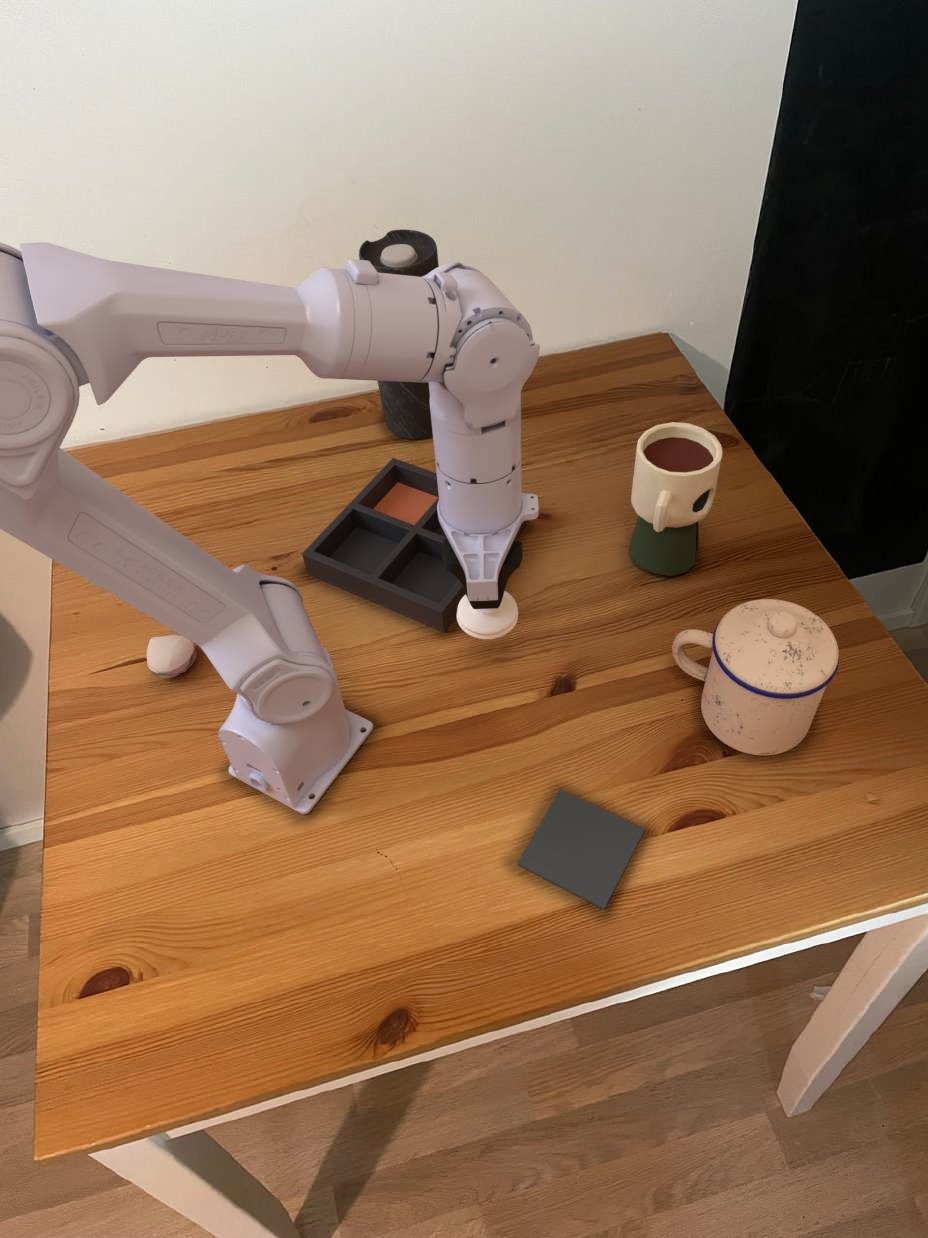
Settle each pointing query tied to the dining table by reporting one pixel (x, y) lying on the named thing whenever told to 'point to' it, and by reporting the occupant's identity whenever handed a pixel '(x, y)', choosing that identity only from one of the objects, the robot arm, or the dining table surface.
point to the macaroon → (170, 655)
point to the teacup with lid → (762, 674)
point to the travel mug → (411, 258)
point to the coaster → (581, 849)
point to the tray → (392, 547)
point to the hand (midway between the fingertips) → (485, 593)
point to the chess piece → (488, 618)
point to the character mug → (672, 494)
